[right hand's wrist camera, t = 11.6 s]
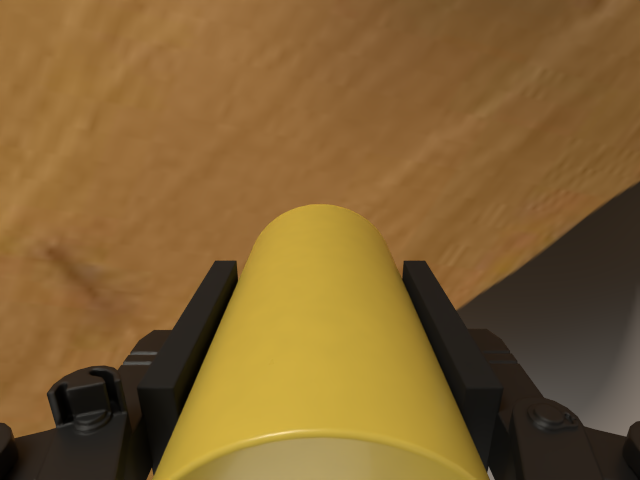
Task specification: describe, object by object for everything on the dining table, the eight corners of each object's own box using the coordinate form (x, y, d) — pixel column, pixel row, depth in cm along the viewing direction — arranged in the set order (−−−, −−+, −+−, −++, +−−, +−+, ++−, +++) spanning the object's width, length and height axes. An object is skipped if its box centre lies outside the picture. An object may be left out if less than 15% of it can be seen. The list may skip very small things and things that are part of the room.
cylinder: (219, 271, 17) (45, 579, 6) (322, 171, 15) (328, 351, 5) (318, 357, 18) (316, 724, 8) (421, 274, 17) (594, 585, 6)
